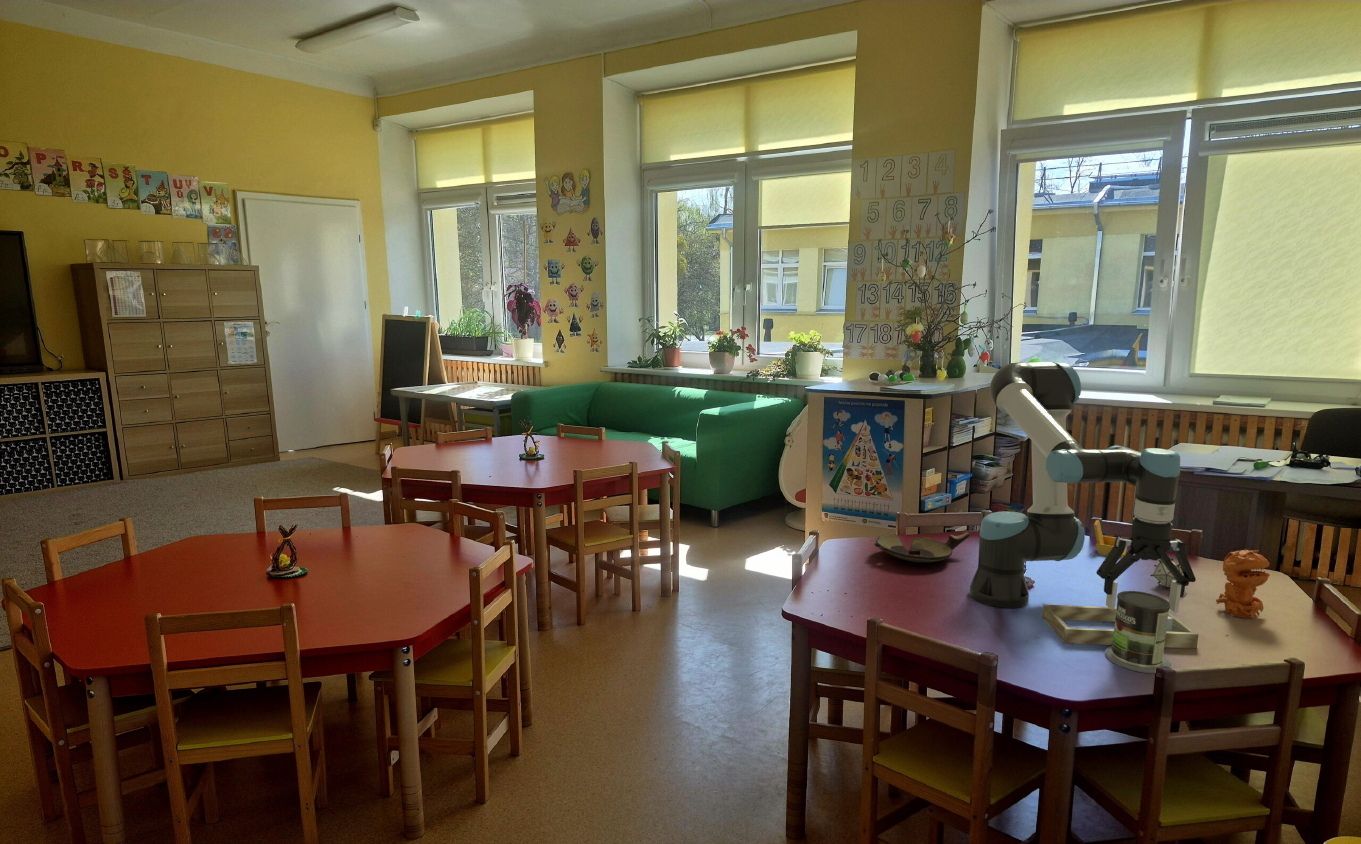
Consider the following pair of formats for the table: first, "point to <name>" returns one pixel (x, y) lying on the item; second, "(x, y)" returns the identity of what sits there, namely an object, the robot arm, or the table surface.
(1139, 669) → the trivet
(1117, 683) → the table surface
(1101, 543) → the yellow toy chair
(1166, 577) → the game die
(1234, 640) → the table surface
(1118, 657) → the coffee can
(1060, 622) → the frame
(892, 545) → the oil lamp
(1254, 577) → the toy dinosaur
